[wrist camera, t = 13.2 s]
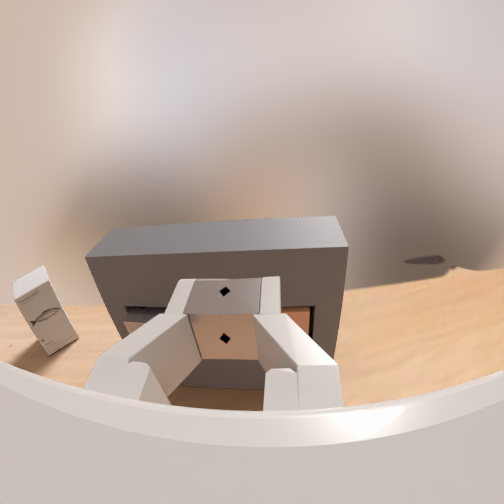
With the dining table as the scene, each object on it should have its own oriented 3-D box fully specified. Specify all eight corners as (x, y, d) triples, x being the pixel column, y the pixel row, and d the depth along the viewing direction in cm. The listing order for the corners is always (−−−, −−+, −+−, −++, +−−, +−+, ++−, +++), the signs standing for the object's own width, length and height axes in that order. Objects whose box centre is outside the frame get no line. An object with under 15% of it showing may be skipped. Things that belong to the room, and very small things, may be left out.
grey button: (181, 357, 28) (167, 324, 26) (139, 354, 29) (123, 321, 26) (187, 337, 31) (176, 303, 28) (147, 334, 31) (133, 302, 29)
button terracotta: (307, 347, 28) (309, 311, 26) (258, 348, 29) (254, 313, 26) (305, 326, 31) (307, 291, 28) (260, 327, 31) (256, 292, 29)
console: (327, 387, 32) (348, 246, 22) (146, 381, 35) (85, 257, 25) (323, 351, 38) (335, 215, 27) (157, 349, 40) (111, 229, 30)
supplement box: (48, 357, 38) (12, 300, 31) (41, 335, 42) (10, 281, 36) (80, 338, 42) (49, 279, 36) (70, 318, 47) (43, 263, 40)
